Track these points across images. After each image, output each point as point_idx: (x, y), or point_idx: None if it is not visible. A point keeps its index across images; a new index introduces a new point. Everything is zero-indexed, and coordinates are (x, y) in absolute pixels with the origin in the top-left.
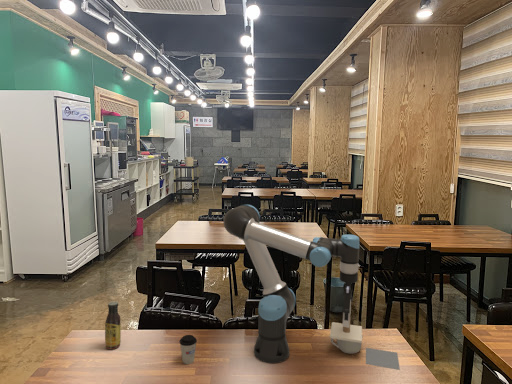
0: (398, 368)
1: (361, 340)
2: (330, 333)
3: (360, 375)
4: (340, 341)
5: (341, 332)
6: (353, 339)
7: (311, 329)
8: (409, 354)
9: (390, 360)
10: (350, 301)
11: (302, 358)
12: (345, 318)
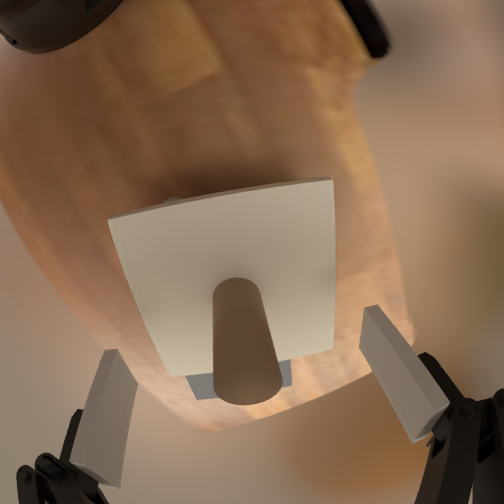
0: (201, 397)
1: (172, 375)
2: (141, 214)
3: (98, 321)
4: None
5: (198, 277)
6: (156, 347)
7: (358, 53)
8: (298, 400)
9: None
10: (408, 431)
11: (73, 96)
12: (73, 428)
